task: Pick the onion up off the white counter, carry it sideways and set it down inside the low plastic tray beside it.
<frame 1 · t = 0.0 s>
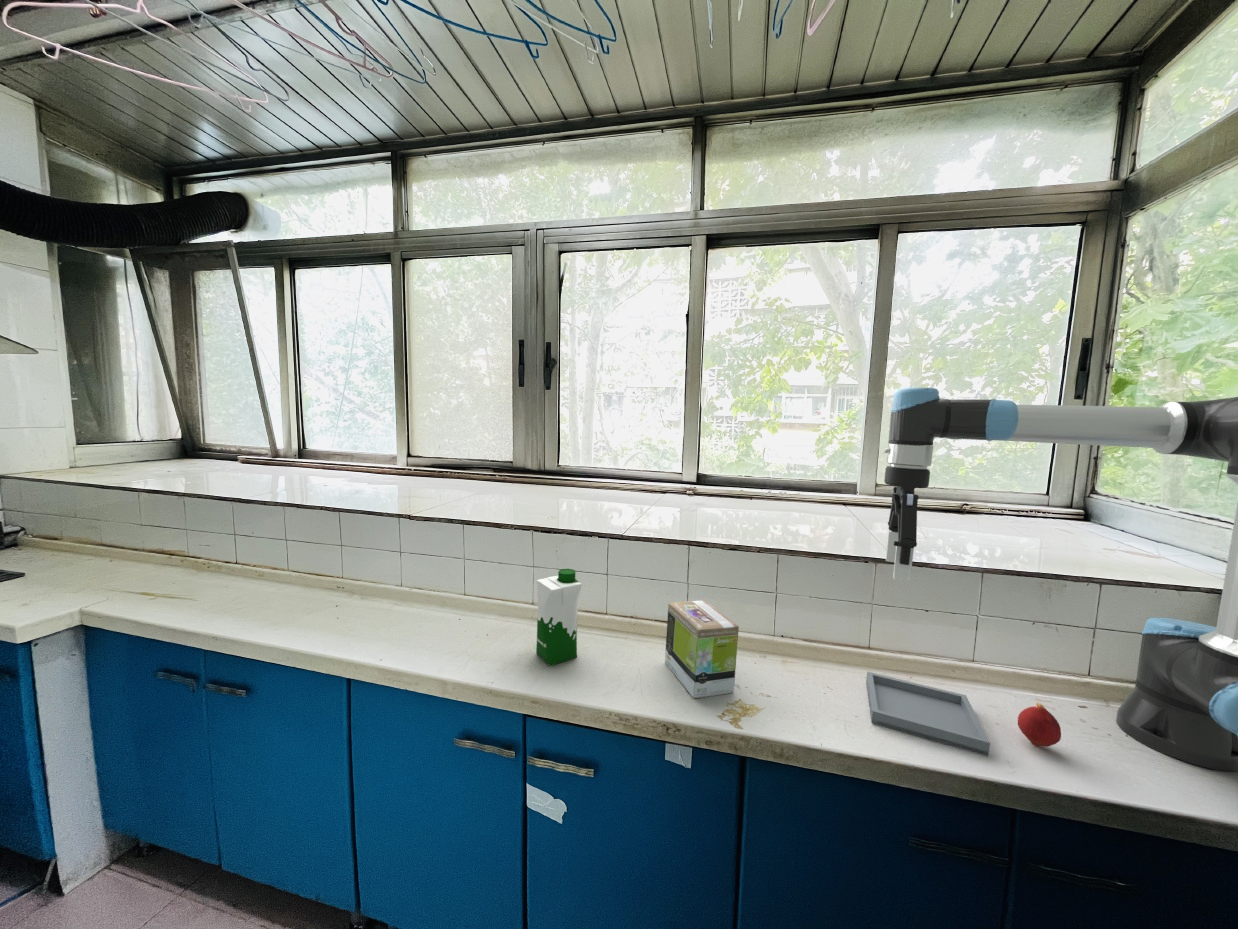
hand: (896, 570, 92), 28 cm above the counter, tool pointing down, fingers open, 13 cm apart
tea box: (697, 677, 100), on the counter
tray: (919, 714, 90), on the counter
onion: (1036, 746, 83), on the counter
milk carton: (556, 656, 107), on the counter
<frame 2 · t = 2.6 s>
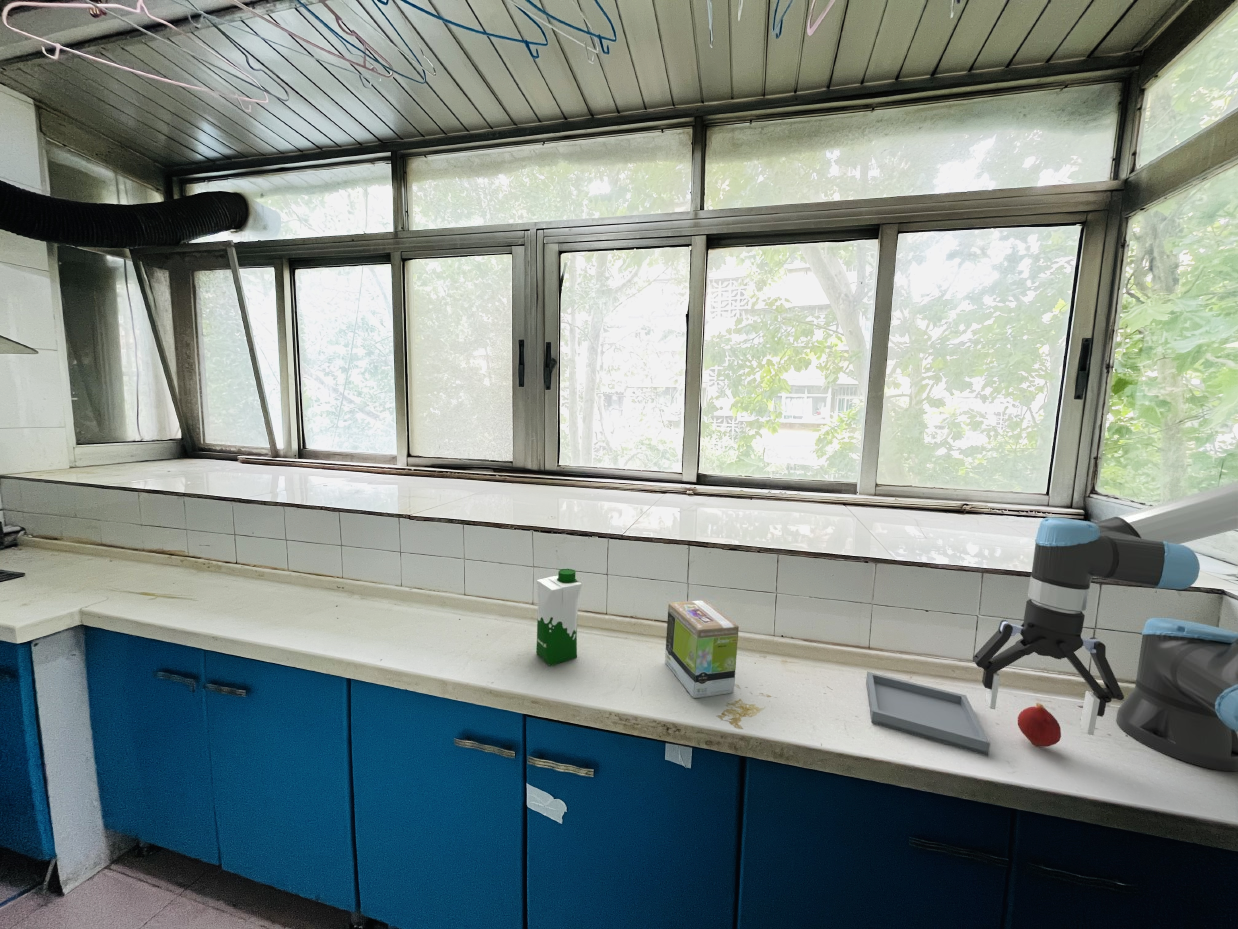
hand: (1036, 717, 82), 5 cm above the counter, tool pointing down, fingers open, 13 cm apart
nothing on the counter moved.
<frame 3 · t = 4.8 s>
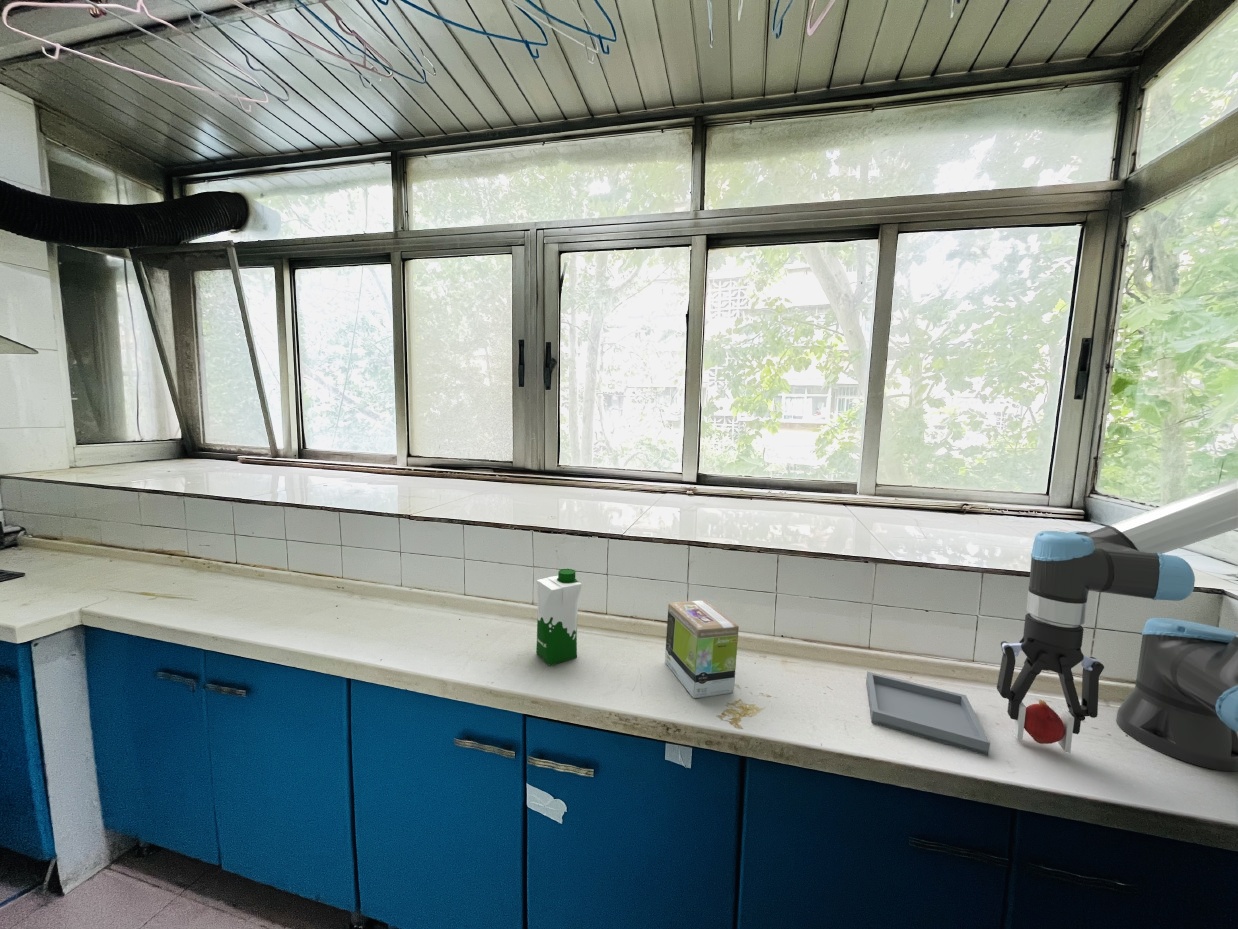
hand: (1040, 741, 82), 1 cm above the counter, tool pointing down, fingers closed on onion, 6 cm apart
onion: (1039, 744, 83), on the counter, touching gripper
everything else where it was.
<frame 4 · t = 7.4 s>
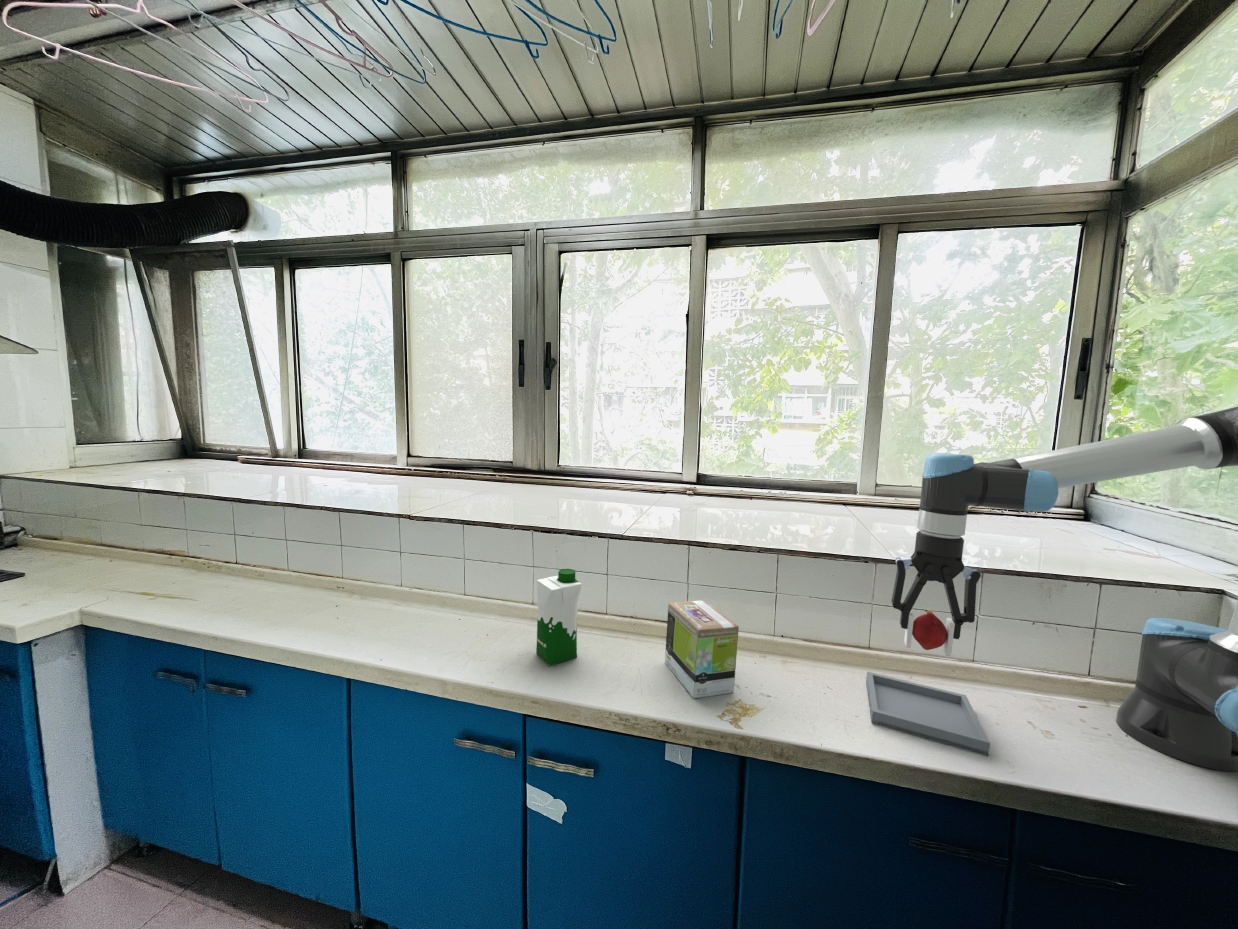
hand: (926, 648, 89), 14 cm above the counter, tool pointing down, fingers closed on onion, 6 cm apart
onion: (926, 650, 89), point 13 cm above the counter, touching gripper
everything else where it was.
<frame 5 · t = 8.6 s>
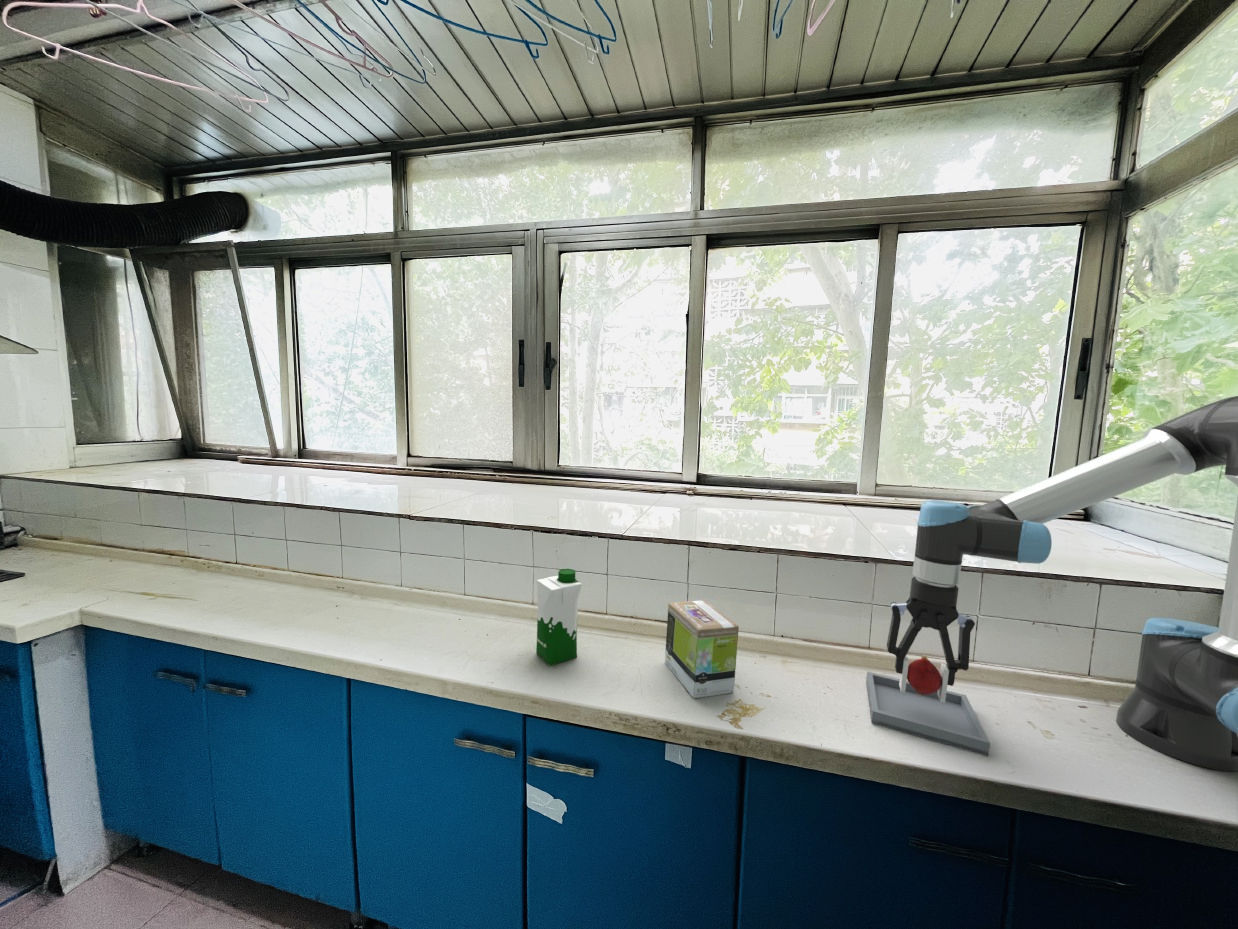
hand: (921, 693, 90), 4 cm above the counter, tool pointing down, fingers closed on onion, 6 cm apart
onion: (921, 695, 90), point 4 cm above the counter, touching gripper
everything else where it was.
when the fingers open (3 cm above the counter, at t = 9.7 s): onion drops 1 cm, resting on tray.
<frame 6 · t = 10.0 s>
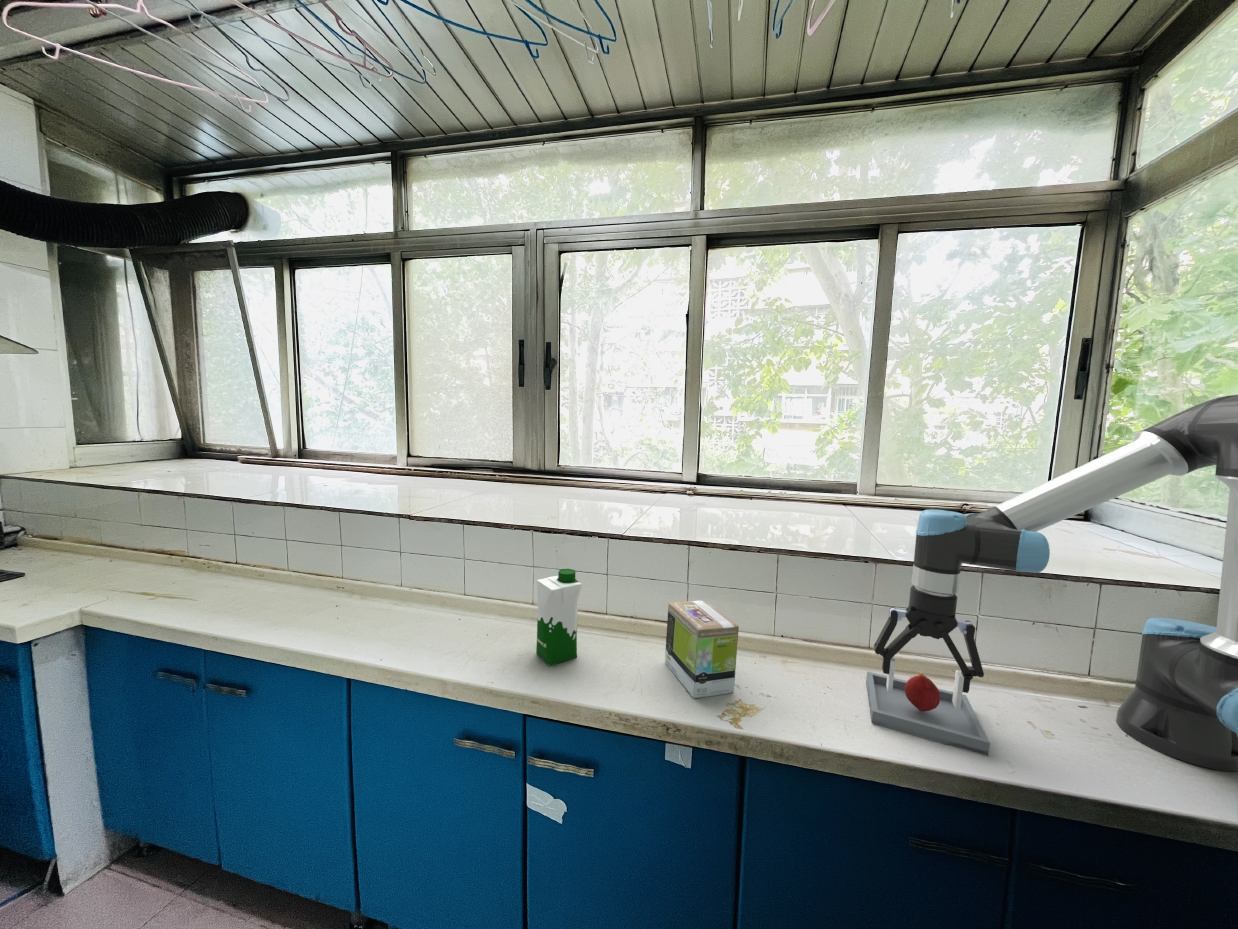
hand: (921, 697, 90), 4 cm above the counter, tool pointing down, fingers open, 10 cm apart
onion: (921, 711, 90), point 1 cm above the counter, touching tray
everything else where it was.
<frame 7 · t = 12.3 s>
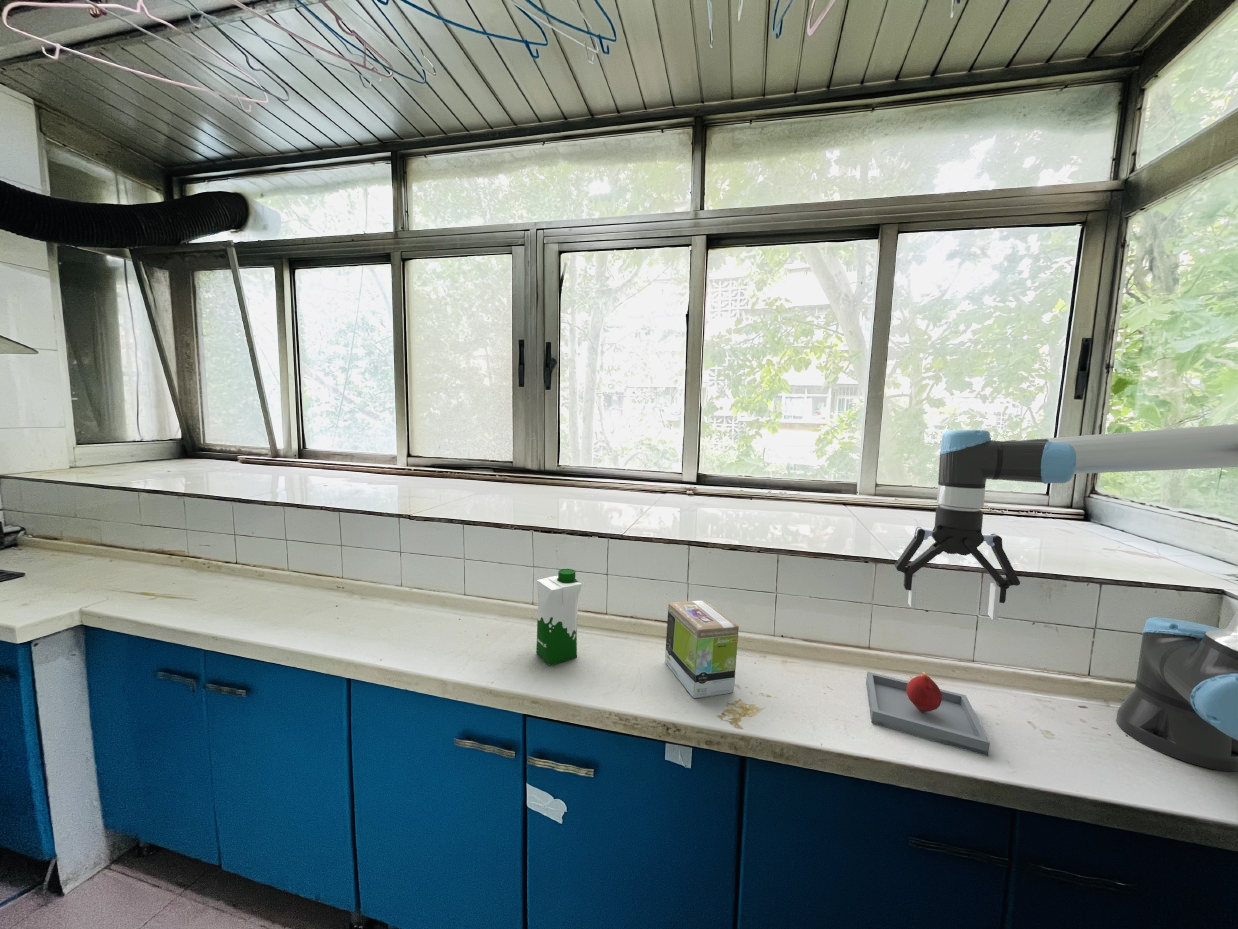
hand: (950, 611, 91), 20 cm above the counter, tool pointing down, fingers open, 13 cm apart
nothing on the counter moved.
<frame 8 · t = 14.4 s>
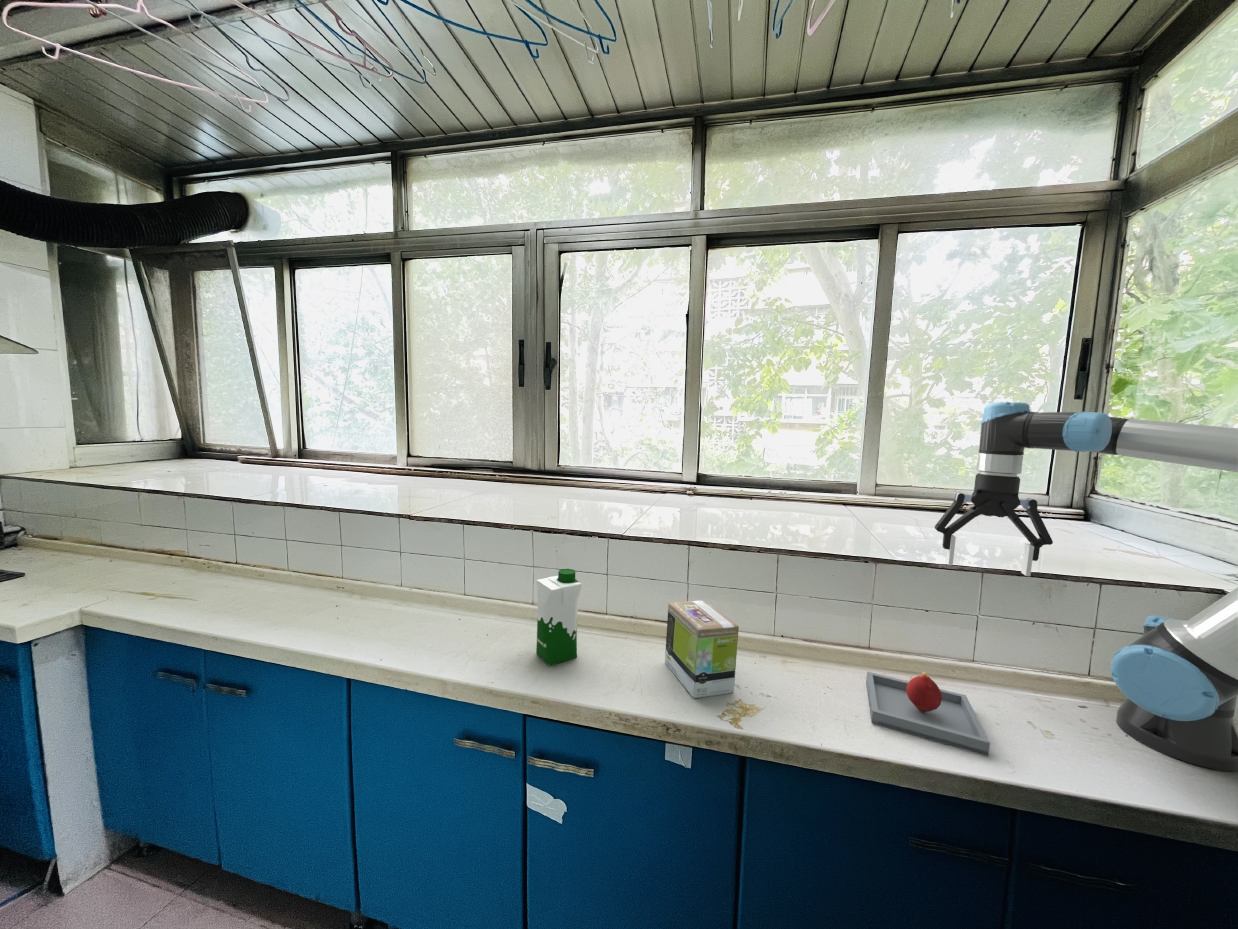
hand: (986, 569, 100), 27 cm above the counter, tool pointing down, fingers open, 13 cm apart
nothing on the counter moved.
at the end: onion inside the target area on the tray (0.3 cm from its centre), point 0.6 cm above the tray's base; the gripper is holding nothing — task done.
